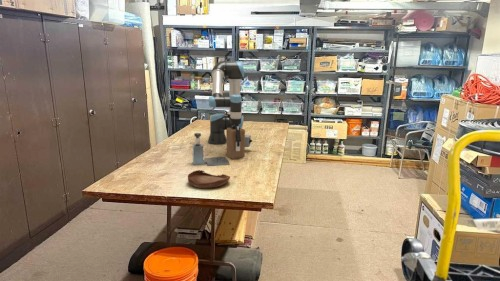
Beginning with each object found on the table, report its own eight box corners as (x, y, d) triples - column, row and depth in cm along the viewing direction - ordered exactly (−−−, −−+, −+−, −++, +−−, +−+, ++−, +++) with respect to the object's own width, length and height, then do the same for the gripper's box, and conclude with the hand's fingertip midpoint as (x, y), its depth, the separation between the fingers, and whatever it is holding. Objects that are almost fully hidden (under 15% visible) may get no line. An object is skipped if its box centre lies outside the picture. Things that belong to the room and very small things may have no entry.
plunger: (194, 147, 216) (194, 133, 214) (200, 147, 217) (200, 132, 215) (195, 149, 212) (194, 134, 210) (201, 148, 213) (201, 134, 211)
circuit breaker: (250, 152, 246) (251, 132, 243) (231, 151, 249) (231, 131, 246) (252, 150, 253) (253, 130, 250) (234, 148, 256) (234, 129, 253)
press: (192, 160, 223) (191, 143, 220) (224, 158, 229) (224, 141, 226) (194, 166, 210) (194, 148, 207) (229, 164, 215) (229, 146, 213)
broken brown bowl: (231, 178, 191) (231, 169, 190) (228, 191, 171) (228, 181, 170) (192, 176, 192) (191, 168, 191) (184, 189, 172) (183, 180, 171)
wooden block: (231, 159, 227) (231, 130, 223) (225, 156, 236) (225, 127, 231) (245, 157, 232) (245, 129, 227) (238, 154, 240) (239, 126, 236)
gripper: (226, 115, 238) (226, 144, 243) (234, 121, 215) (234, 153, 219) (236, 115, 240) (236, 144, 245) (245, 120, 217) (245, 152, 222)
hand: (235, 148), depth 232 cm, fingers open, 13 cm apart
